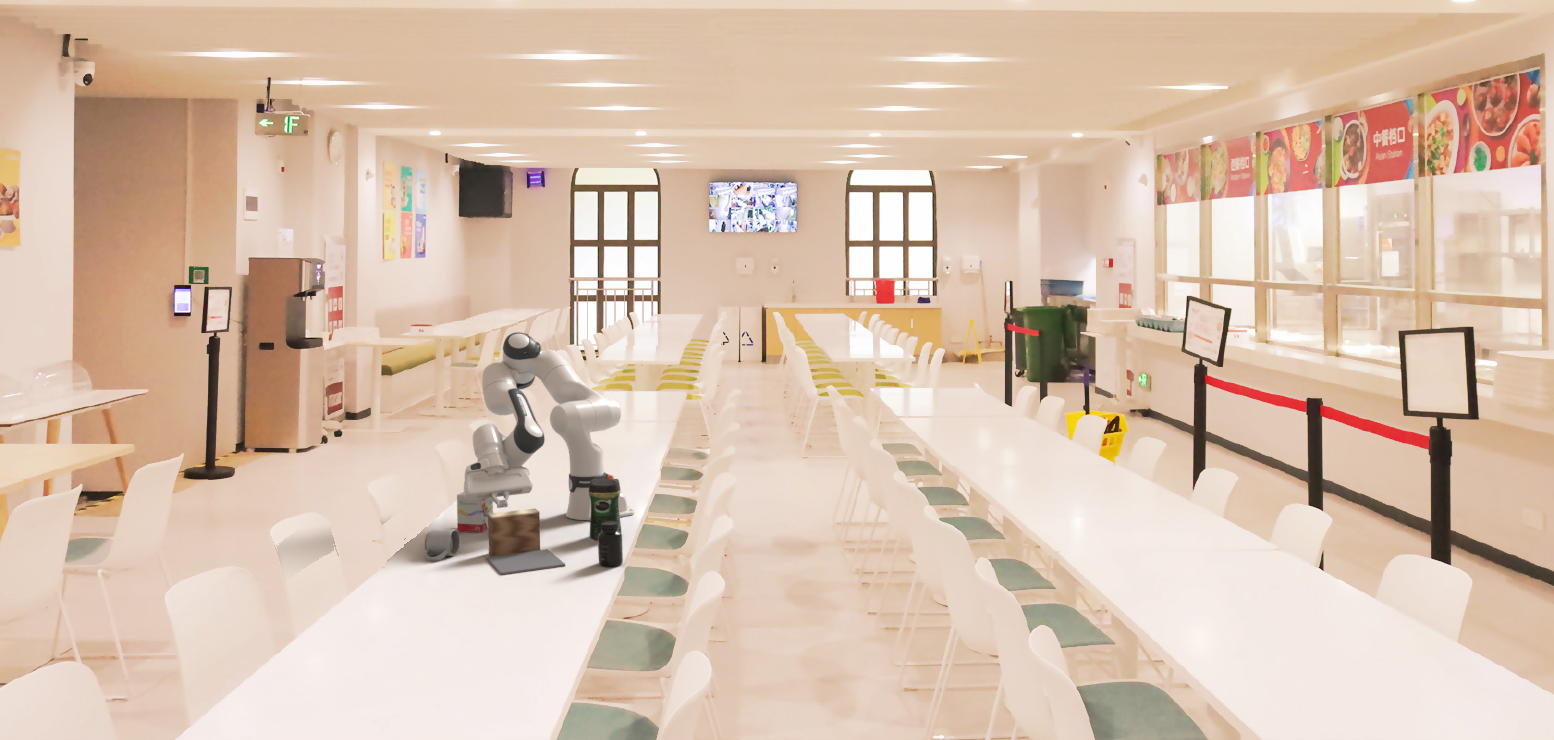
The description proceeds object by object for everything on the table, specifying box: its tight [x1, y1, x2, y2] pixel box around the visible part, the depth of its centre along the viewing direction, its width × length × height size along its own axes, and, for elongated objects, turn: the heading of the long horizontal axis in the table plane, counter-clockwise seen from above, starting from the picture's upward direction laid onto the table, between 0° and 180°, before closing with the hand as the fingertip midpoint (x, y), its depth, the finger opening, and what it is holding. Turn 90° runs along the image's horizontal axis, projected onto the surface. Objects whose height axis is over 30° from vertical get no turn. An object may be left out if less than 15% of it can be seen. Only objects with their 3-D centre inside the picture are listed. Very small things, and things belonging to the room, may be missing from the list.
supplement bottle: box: [597, 521, 624, 568], centre depth 307 cm, size 7×7×12 cm
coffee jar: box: [589, 478, 622, 541], centre depth 334 cm, size 10×8×19 cm
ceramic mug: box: [424, 528, 461, 562], centre depth 313 cm, size 11×8×8 cm
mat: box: [486, 548, 566, 576], centre depth 308 cm, size 18×17×1 cm
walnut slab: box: [487, 508, 541, 556], centre depth 318 cm, size 14×4×12 cm, turn 118°
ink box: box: [456, 491, 494, 534], centre depth 344 cm, size 9×9×12 cm
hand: (502, 506), depth 325 cm, fingers closed
